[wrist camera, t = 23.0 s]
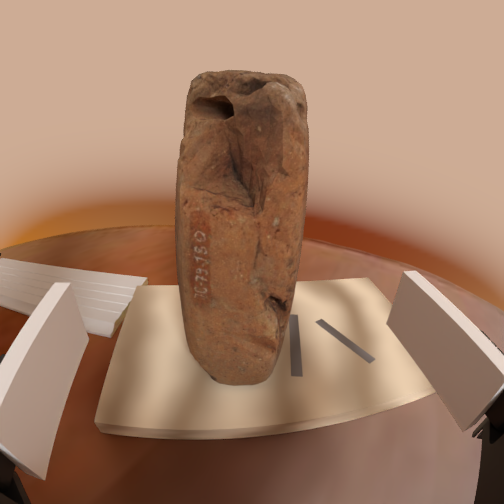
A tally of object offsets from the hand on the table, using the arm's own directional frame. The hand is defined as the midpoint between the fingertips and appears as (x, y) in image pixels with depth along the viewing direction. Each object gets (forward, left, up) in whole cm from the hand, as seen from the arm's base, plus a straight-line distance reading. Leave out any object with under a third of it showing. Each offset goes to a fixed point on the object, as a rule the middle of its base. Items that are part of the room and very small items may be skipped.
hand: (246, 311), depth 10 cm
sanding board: (+4, +10, -12) cm, 16 cm away
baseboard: (-26, +19, -13) cm, 35 cm away
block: (+1, +9, -11) cm, 14 cm away
